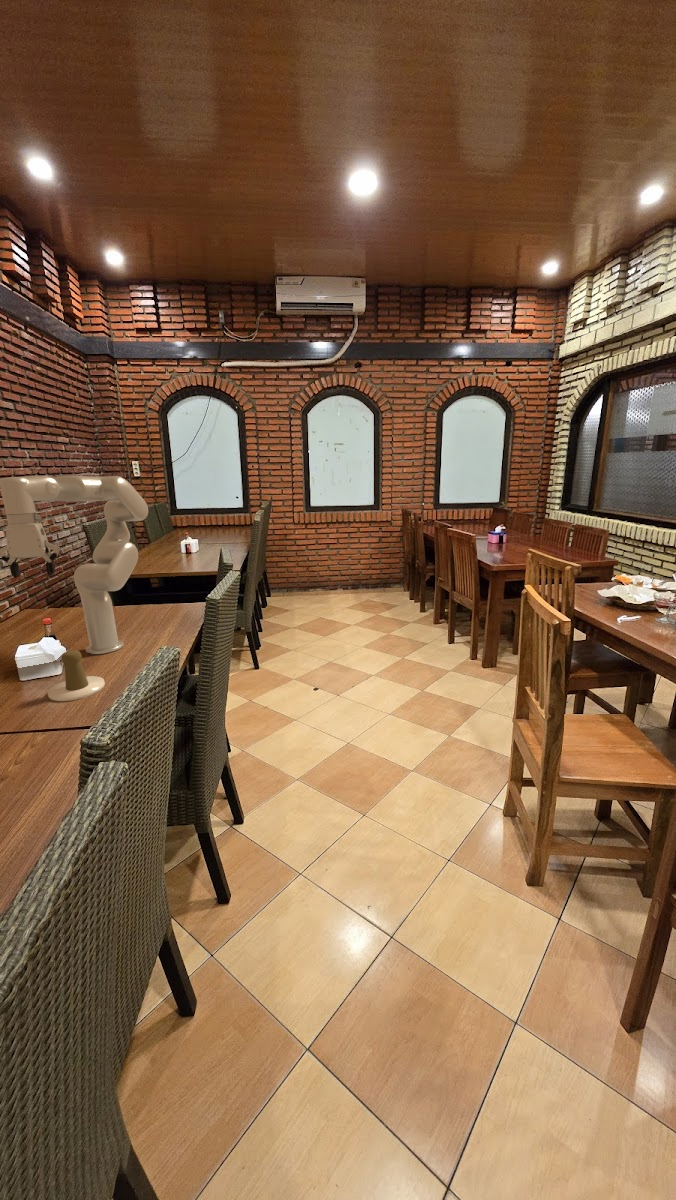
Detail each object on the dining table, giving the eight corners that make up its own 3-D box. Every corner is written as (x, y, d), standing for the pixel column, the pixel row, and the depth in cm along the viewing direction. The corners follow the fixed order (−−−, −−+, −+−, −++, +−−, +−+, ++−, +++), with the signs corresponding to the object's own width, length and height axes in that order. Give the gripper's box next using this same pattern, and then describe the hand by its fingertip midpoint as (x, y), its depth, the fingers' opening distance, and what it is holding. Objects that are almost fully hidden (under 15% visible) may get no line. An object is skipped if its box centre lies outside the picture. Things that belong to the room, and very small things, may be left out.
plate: (59, 682, 149) (59, 679, 148) (110, 676, 151) (110, 673, 151) (39, 704, 134) (38, 700, 134) (96, 697, 137) (95, 694, 136)
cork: (79, 691, 139) (72, 655, 136) (61, 690, 140) (53, 655, 137) (93, 682, 145) (86, 648, 142) (75, 681, 146) (68, 647, 143)
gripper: (58, 517, 148) (68, 571, 153) (-3, 520, 145) (9, 575, 150) (48, 519, 141) (59, 576, 145) (-16, 522, 138) (-3, 580, 143)
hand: (34, 575), depth 148 cm, fingers open, 9 cm apart
